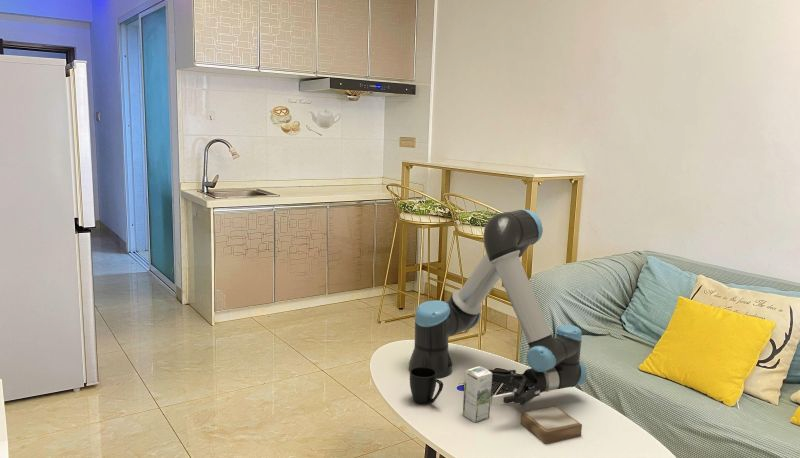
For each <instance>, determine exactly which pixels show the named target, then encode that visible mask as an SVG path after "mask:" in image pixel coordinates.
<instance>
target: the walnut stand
mask: <svg viewBox="0 0 800 458" xmlns="http://www.w3.org/2000/svg"><path fill="white" fill-rule="evenodd" d="M519 423H520V424H521V426H523V427H524V428H525V429H526V430H527V431H529V432H530V433H531V434H532V435H534V437H536V438H537V439H538V440H539V441H541V442H542V443H544V444H545V445H548V444H553V443H557V442H561V441H566V440H570V439H575V438H579V437H581V436H582V428H583V424H582V423H580V422H579V421H578V420H576V419H575V418H573V417H572V416H571V415H569V414H568V413H566V412H565V411H563V410H562V408H559V407H558V406H557V405H550V406H546V407H540V408H537V409H536V408H535V409H531V410H526V411H521V412H520V420H519Z"/></svg>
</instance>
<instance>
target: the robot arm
mask: <svg viewBox="0 0 800 458" xmlns="http://www.w3.org/2000/svg"><path fill="white" fill-rule="evenodd" d="M543 232H544V231H543V224H542V221H541V218H540V217H539V216H538V215H537V213H535V212H534V211H532V210H529V209H517V210H512V211H508V212H500V213H497V214H495V215H493V216H492V217H490V218H489V219H488V221H487V223H486V224H485V226H484V229H483V244H484V249H485V253H484V255H483V256H482V258H481V259H480V261H479V262H478V264H477V265H476V267H475V268H474V270H473V271H472V273H471V274H470V276H468V278H467V280H466V281H465V283H464V284H463V286H462V287H461V288H460V289H456V290H454V291H453V292H452V294H451V295H450V297H449V298H448V300H447V301H443V300H439V299H438V300H436V299H435V300H427V301H424V302H421V303H420V304H418V305H417V307H416V308H415V315H414V347H413V351H412V354H411V356H410V359H409V362H408V370H409V372H410V370H411V369H413V368H415V367H429V368H432V369H434V370H435V371H436V372H437V374H436V379H440V378H445V377H448V376H450V375H451V374H452V372H453V362H452V358H451V353H450V351H449V338H450V337H452V336H454V335H457V334H459V333H462V332H464V331H465V332H466V331H469V330H470V329H472V328H474V327H475V326H476V325H477V324H478V323H479V321H480V320H481V319H480V318H481V317H482V314H481V311H482V308H483V307H482V303H483V301H484V300H485V299H486V297H487V296H488V294H489V293H491V291H492V289H493V288H494V287H495V285H496V284H497V282H498V281H499V280H501V282H502V285H503V287H504V290H505V292H506V294H507V297H508V299H509V301H510V305H511V307H512V308H513V311H514V313H515V316H516V319H517V321H518V323H519V325H520V328H521V330H522V333H523V335H524V338H525V340H526V343H527V345H528V347H529V350H528V351H527V354H526V361H527V364H528V366H529V367H530V368H527V369H525V371H524V372H523V373H521V374H520V373H517V371H516V369H509V370H507V369H506V370H504V369H489V368H488V369H487V370H488V371H490V372H491V373H492V383H498V384H506V385H507V386H508V387H513V388H514V389H516V391H514V392H511V391H510V392H506V393H505V392H504V393H500V394H495V395H492V396H491V406H492V407H494V406H500V405H505V404H512V403H514V404H518V405H519V406H524V405H525V404H527V403H529V402H530V401H531V400H532V399H534V398H535V397H540V396H541V395H540V394H541V393H548V392H551V391H556V390H561V389H562V390H563V389H565V388H573V387H577V386H580V385H582V384H584V383H585V382H586V380H587V377H588V375H587V374H588V373H587V371H586V367H585V365H584V363H583V362H582V361H580V360H581V358H580V357H581V351H582V349H581V348H582V342H583V340H582V329H580V328H579V327H578V326H576V325H572V324H561V325H558V326H557V328H556V332H555V336H553V334H552V332H551V330H550V327H549V325H548V323H547V320H546V318H545V315H544V313H543V311H542V308H541V307H540V304H539V301H538V299H537V297H536V296H537V295H536V294H535V292H534V289H533V287H532V285H531V283H530V281H529V278H528V276H527V273H526V271H525V269H524V266H523V264H522V261H521V259H520V258H521V257H522V256H523V255H524V253H525V252H526V251H527V249H529V247H530V245H531V246H532V245H535V244H536V243H538V242H539V241H540V240H541V237H542V236H543Z"/></svg>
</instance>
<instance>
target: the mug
mask: <svg viewBox="0 0 800 458" xmlns="http://www.w3.org/2000/svg"><path fill="white" fill-rule="evenodd" d="M436 374H437V372H436V371H435V370H434V369H432V368H429V367H415V368H413V369H411V370H410V371H409V387H410V392H411V396H412V399H413V402H414V403H415V404H416V405H421V406H425V405H429V404H433V403H434V402H435V401H436V400H437V399H438V397H439V396H440V394H441V393H442V391H443V388H444V382H443V381H442V380H440V379H439V378H436ZM437 384H438V389H437V392H436V394H435V391H436V385H437ZM434 394H435V395H434Z"/></svg>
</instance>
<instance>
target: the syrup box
mask: <svg viewBox="0 0 800 458" xmlns="http://www.w3.org/2000/svg"><path fill="white" fill-rule="evenodd" d="M488 370H489V369H488ZM488 370H487V369H486V368H485V367H483V366H481V365H479V366H475V367H473V368H472V367H471V368H469V369H465V371H464V383H463V384H464V386H463V401H462V416H464V417H465V418H466V419H469V420H470V421H472V422H473V423H478V422H480V421H484V420H487V419H489V418H490V413H491V412H490V410H491V401H492V396H491V395H492V384H493V382H492V373H491V372H490V371H488Z"/></svg>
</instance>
